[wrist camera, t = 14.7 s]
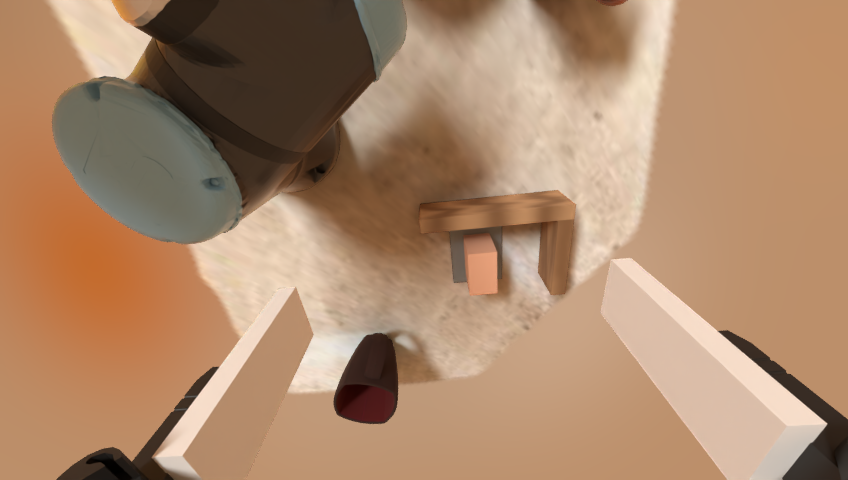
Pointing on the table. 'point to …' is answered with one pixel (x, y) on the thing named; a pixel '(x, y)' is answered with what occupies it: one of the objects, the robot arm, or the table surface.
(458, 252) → the pad
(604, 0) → the mug
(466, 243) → the block
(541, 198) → the corner walls
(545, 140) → the table surface
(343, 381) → the mug
